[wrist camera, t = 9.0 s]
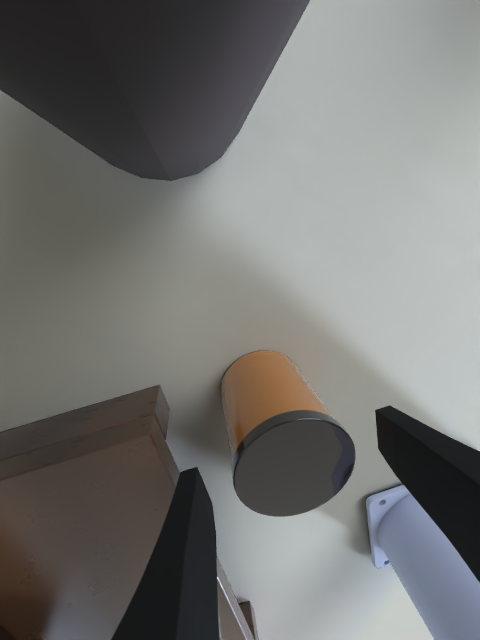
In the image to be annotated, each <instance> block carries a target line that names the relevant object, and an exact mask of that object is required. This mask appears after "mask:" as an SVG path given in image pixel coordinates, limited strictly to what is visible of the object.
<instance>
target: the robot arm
mask: <svg viewBox="0 0 480 640" xmlns="http://www.w3.org/2000/svg"><path fill="white" fill-rule="evenodd" d="M375 413H376V426H377V438H378V449H379V451H380V452H381V454H382V455H383V457H384V458H385V460H386V462H387V463H388V465H389V466H390V468H391V469H392V470H393V472H394V473H395V475H396V476H397V477H398V479H399V480H400V481H401V482H402V484H403V485H401V486H398V487H395V488H392V489H389V490H386V491H383V492H380V493H377V494H374V495H372V496H369V497H368V498H367V500H366V509H367V518H368V527H369V536H370V546H371V555H372V562H373V564H374V566H375V567H376V568H382V567H385V566H388V565H392V567H393V569H394V570H395V572H396V574H397V576H398V577H399V579H400V581H401V583H402V584H403V586H404V588H405V590H406V591H407V593H408V595H409V596H410V598H411V600H412V602H413V603H414V605H415V607H416V609H417V610H418V612H419V614H420V616H421V617H422V619H423V621H424V623H425V624H426V626H427V628H428V629H429V631H430V633H431V635H432V636H433V638H434V640H480V451H478V450H475V449H473V448H471V447H469V446H467V445H465V444H463V443H461V442H458V441H456V440H454V439H452V438H450V437H448V436H446V435H444V434H442V433H440V432H439V431H437V430H435V429H433V428H431V427H429V426H427V425H425V424H423V423H421V422H420V421H418V420H416V419H414V418H412V417H410V416H408V415H407V414H405V413H403V412H401V411H399V410H397V409H395V408H393V407H392V406H387V407H384V408H380V409H377V410H375ZM111 640H220V637H219V622H218V592H217V553H216V531H215V522H214V514H213V506H212V502H211V499H210V497H209V494H208V492H207V490H206V487H205V485H204V482H203V480H202V477H201V475H200V472H199V470H198V468H197V467H195V468H192V469H189V470H186V471H183V472H181V473H180V475H179V479H178V482H177V485H176V489H175V492H174V495H173V498H172V501H171V504H170V507H169V510H168V513H167V516H166V518H165V521H164V524H163V526H162V529H161V532H160V535H159V537H158V540H157V542H156V545H155V547H154V550H153V552H152V554H151V557H150V559H149V562H148V564H147V566H146V569H145V571H144V573H143V576H142V578H141V580H140V582H139V584H138V587H137V589H136V591H135V593H134V595H133V597H132V599H131V601H130V603H129V605H128V607H127V610H126V612H125V614H124V616H123V617H122V619H121V621H120V623H119V625H118V627H117V629H116V631H115V633H114V635H113V637H112V639H111Z"/></svg>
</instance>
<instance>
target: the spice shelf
mask: <svg viewBox="0 0 480 640" xmlns="http://www.w3.org/2000/svg"><path fill="white" fill-rule="evenodd" d="M168 417H169V406H168V404H167V402H166V399H165V397H164V394H163V392H162V390H161V387H160V386H159V385H157V386H154V387H151V388H147V389H144V390H141V391H137V392H134V393H131V394H127V395H124V396H121V397H117V398H114V399H111V400H107V401H104V402H101V403H97V404H94V405H91V406H87V407H84V408H80V409H77V410H74V411H70V412H67V413H64V414H60V415H57V416H54V417H50V418H47V419H44V420H40V421H37V422H34V423H30V424H27V425H24V426H20V427H17V428H13V429H10V430H7V431H3V432H0V640H111V639H112V637H113V635H114V633H115V631H116V629H117V627H118V625H119V623H120V621H121V619H122V617H123V616H124V614H125V612H126V610H127V607H128V605H129V603H130V601H131V599H132V597H133V595H134V593H135V591H136V589H137V587H138V584H139V582H140V580H141V578H142V576H143V573H144V571H145V569H146V566H147V564H148V562H149V559H150V557H151V554H152V552H153V550H154V547H155V545H156V542H157V540H158V537H159V535H160V532H161V529H162V526H163V524H164V521H165V518H166V516H167V513H168V510H169V507H170V504H171V501H172V498H173V495H174V492H175V489H176V485H177V482H178V479H179V475H180V472H179V470H178V468H177V465H176V463H175V461H174V459H173V456H172V454H171V452H170V450H169V448H168V445H167V443H166V441H165V440H166V435H167V426H168ZM217 592H218V622H219V637H220V640H259V639H258V632H257V626H256V620H255V614H254V610H253V608H252V605H251V603H250V601H248V602H245V603H242V604H240V605H239V604H238V602H237V600H236V597H235V595H234V593H233V591H232V588H231V586H230V584H229V582H228V579H227V577H226V575H225V573H224V571H223V568H222V566H221V564H220V562H219V559H218V557H217Z"/></svg>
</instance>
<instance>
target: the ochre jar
mask: <svg viewBox="0 0 480 640" xmlns="http://www.w3.org/2000/svg"><path fill="white" fill-rule="evenodd" d="M221 396H222V402H223V408H224V414H225V420H226V426H227V432H228V438H229V444H230V450H231V456H232V479H233V485H234V489H235V492H236V494H237V496H238V497H239V499H240V500H241V501H242V502H243V503H244V504H245V505H246V506H247V507H248V508H250V509H251V510H253V511H255V512H257V513H260V514H263V515H268V516H275V517H284V516H293V515H298V514H301V513H305V512H308V511H310V510H313V509H315V508H317V507H319V506H321V505H322V504H324V503H326V502H327V501H328V500H330V499H331V498H332V497H334V496H335V495H336V494H337V493H338V492H339V491H340V490H341V489H342V488H343V486H344V485H345V484H346V482H347V481H348V479H349V477H350V476H351V473H352V471H353V468H354V465H355V448H354V444H353V441H352V439H351V437H350V436H349V434H348V433H347V431H346V430H345V429H344V427H343V426H342V425H341V424H340V423H339V422H338V421H337V420H336V419H334V418H333V416H332V415H331V414H330V412H329V411H328V409H327V408H326V407H325V405H324V404H323V402H322V401H321V400H320V398H319V397H318V395H317V394H316V393H315V391H314V390H313V388H312V387H311V386H310V384H309V383H308V381H307V380H306V378H305V377H304V376H303V374H302V373H301V371H300V370H299V369H298V367H297V366H296V364H295V363H294V362H293V361H292V360H291V359H290V358H289V357H287V356H286V355H284V354H282V353H279V352H275V351H269V350H262V351H256V352H252V353H249V354H247V355H245V356H243V357H241V358H240V359H238V360H237V361H236V362H234V363H233V364H232V365H231V366H230V368H229V369H228V370H227V372H226V374H225V376H224V378H223V380H222V385H221Z"/></svg>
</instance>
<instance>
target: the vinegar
mask: <svg viewBox="0 0 480 640" xmlns="http://www.w3.org/2000/svg"><path fill="white" fill-rule="evenodd" d="M309 1H310V0H0V90H2V91H3V92H5V93H6V94H8V95H9V96H11V97H12V98H14V99H15V100H16V101H18V102H19V103H21V104H22V105H24V106H25V107H27V108H28V109H30V110H31V111H33V112H34V113H36V114H37V115H39V116H40V117H42V118H43V119H45V120H46V121H48V122H49V123H51V124H52V125H54V126H55V127H57V128H58V129H59V130H61V131H62V132H64V133H65V134H67V135H68V136H70V137H71V138H73V139H74V140H76V141H77V142H79V143H80V144H82V145H83V146H85V147H86V148H88V149H89V150H91V151H92V152H94V153H95V154H97V155H98V156H99V157H101V158H102V159H104V160H105V161H107V162H108V163H110V164H111V165H113V166H115V167H117V168H120V169H122V170H124V171H127V172H129V173H132V174H134V175H136V176H139V177H141V178H147V179H159V180H170V181H172V180H175V179H179V178H183V177H187V176H191V175H194V174H198V173H199V172H201V171H202V170H204V169H205V168H207V167H208V166H209V165H211V164H212V163H214V162H215V161H216V160H218V159H219V158H221V156H222V155H223V154H224V152H225V151H226V150H227V148H228V147H229V145H230V144H231V143H232V141H233V140H234V138H235V137H236V136H237V134H238V133H239V131H240V129H241V127H242V125H243V123H244V122H245V120H246V118H247V116H248V114H249V112H250V111H251V109H252V107H253V105H254V103H255V101H256V99H257V98H258V96H259V94H260V92H261V90H262V88H263V86H264V85H265V83H266V81H267V79H268V77H269V75H270V73H271V72H272V70H273V68H274V66H275V64H276V62H277V61H278V59H279V57H280V55H281V53H282V51H283V49H284V48H285V46H286V44H287V42H288V40H289V38H290V36H291V35H292V33H293V31H294V29H295V27H296V25H297V24H298V22H299V20H300V18H301V16H302V14H303V12H304V11H305V9H306V7H307V5H308V3H309Z"/></svg>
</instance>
